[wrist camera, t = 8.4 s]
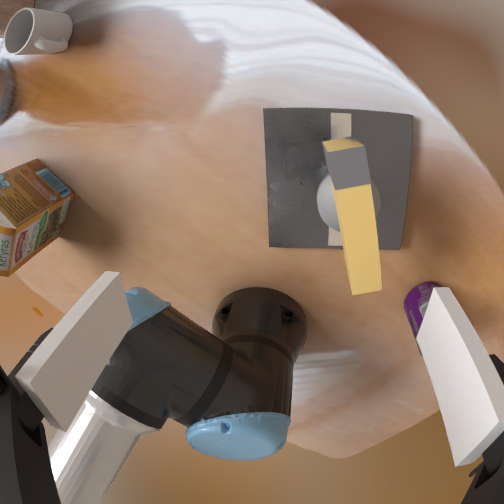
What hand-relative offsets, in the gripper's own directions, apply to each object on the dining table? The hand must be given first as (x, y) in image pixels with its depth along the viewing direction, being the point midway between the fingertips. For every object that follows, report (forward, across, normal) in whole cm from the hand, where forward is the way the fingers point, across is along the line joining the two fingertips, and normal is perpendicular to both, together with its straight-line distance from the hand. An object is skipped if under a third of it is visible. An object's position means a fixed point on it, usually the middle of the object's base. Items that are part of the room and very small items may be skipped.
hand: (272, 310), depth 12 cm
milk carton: (+30, -41, -4) cm, 51 cm away
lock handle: (+21, +6, -2) cm, 22 cm away
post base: (+29, +6, -2) cm, 30 cm away
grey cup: (+29, -34, +23) cm, 50 cm away
